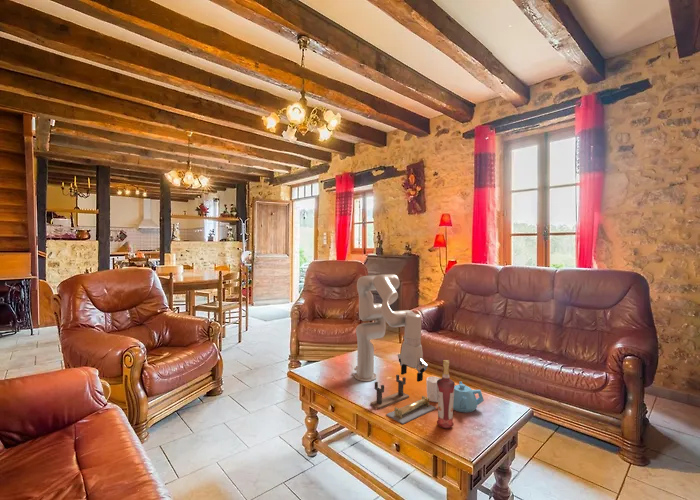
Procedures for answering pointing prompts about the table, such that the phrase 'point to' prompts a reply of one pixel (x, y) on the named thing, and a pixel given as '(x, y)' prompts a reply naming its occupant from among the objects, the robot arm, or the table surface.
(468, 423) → the table surface
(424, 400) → the rail
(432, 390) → the white cup
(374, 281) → the robot arm
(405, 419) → the mat
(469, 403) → the teapot
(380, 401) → the rack
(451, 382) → the liquor
